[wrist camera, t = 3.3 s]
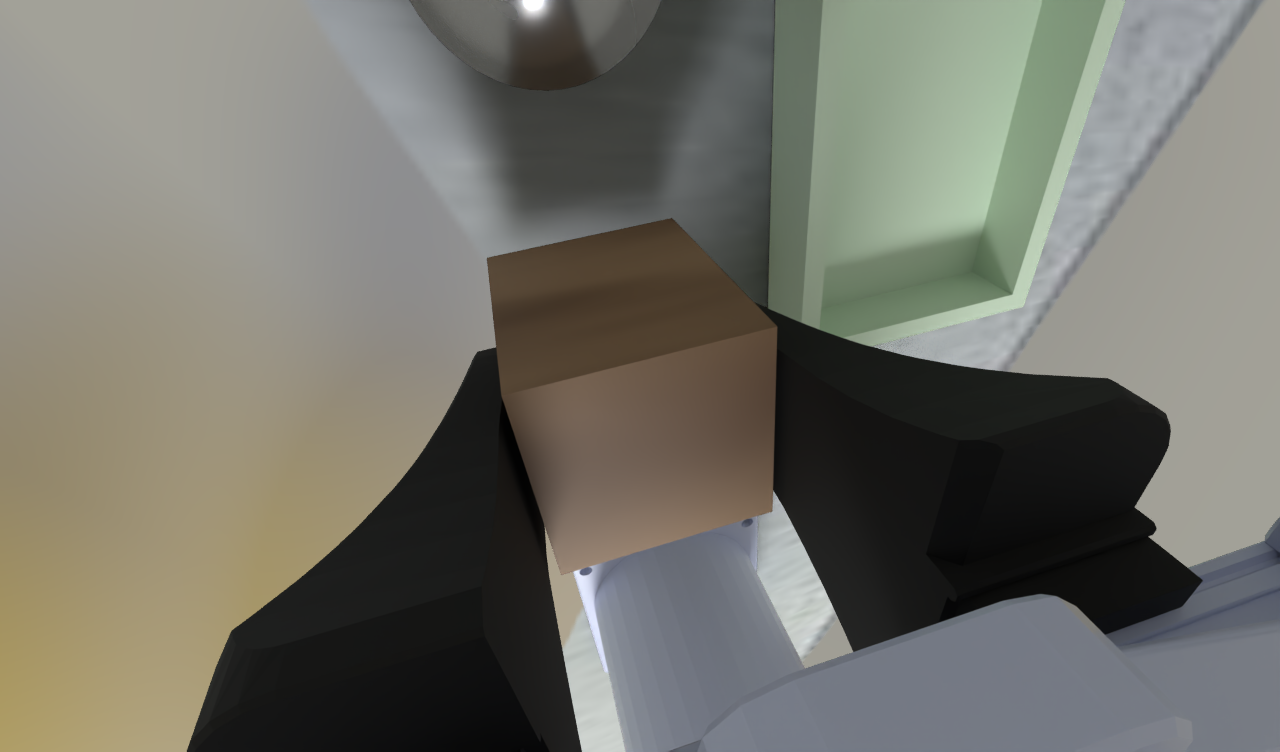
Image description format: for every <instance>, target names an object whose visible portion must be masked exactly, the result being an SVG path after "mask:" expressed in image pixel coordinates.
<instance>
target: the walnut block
mask: <svg viewBox="0 0 1280 752" xmlns="http://www.w3.org/2000/svg"><path fill="white" fill-rule="evenodd" d="M487 264H488V273H489V283H490V292H491V301H492V311H493V320H494V329H495V339H496V349H497V358H498V367H499V377H500V386H501V396H502V399H503V402H504V405H505V408H506V411H507V414H508V417H509V420H510V423H511V426H512V429H513V432H514V435H515V438H516V441H517V444H518V447H519V450H520V453H521V456H522V459H523V462H524V465H525V468H526V471H527V474H528V477H529V480H530V483H531V486H532V489H533V492H534V495H535V498H536V501H537V504H538V507H539V510H540V513H541V516H542V519H543V522H544V525H545V528H546V531H547V534H548V536H549V540H550V543H551V546H552V549H553V552H554V555H555V558H556V561H557V564H558V567H559V570H560V573H561V575H564V574H567V573H570V572H574V571H577V570H580V569H583V568H587V567H590V566H593V565H597V564H600V563H603V562H607V561H610V560H613V559H617V558H620V557H623V556H626V555H630V554H633V553H636V552H640V551H643V550H646V549H650V548H653V547H656V546H660V545H663V544H666V543H669V542H673V541H676V540H679V539H683V538H686V537H689V536H693V535H696V534H699V533H703V532H706V531H709V530H712V529H716V528H719V527H722V526H726V525H729V524H732V523H736V522H739V521H742V520H746V519H749V518H752V517H755V516H759V515H762V514H765V513H769V512H772V506H773V469H774V431H775V394H776V356H777V326H776V325H775V324H774V323H773V322H772V321H771V320H770V319H769V317H768V316H767V315H766V314H765V313H764V312H763V311H762V310H761V309H760V308H759V307H758V306H757V305H756V304H755V303H754V302H753V301H752V300H751V299H750V298H749V297H748V296H747V295H746V294H745V293H744V292H743V291H742V290H741V289H740V288H739V287H738V286H737V285H736V284H735V282H734V281H733V280H732V279H731V278H730V277H729V276H728V275H727V274H726V273H725V272H724V271H723V270H722V269H721V268H720V267H719V266H718V265H717V264H716V263H715V262H714V261H713V260H712V259H711V258H710V257H709V256H708V255H707V254H706V253H705V252H704V251H703V250H702V248H701V247H700V246H699V245H698V244H697V243H696V242H695V241H694V240H693V239H692V238H691V237H690V236H689V235H688V234H687V233H686V232H685V231H684V230H683V229H682V228H681V227H680V226H679V225H678V224H677V223H676V222H675V221H674V220H673V219H672V218H670V219H665V220H661V221H656V222H651V223H647V224H642V225H638V226H633V227H628V228H624V229H619V230H614V231H610V232H605V233H600V234H596V235H591V236H586V237H582V238H577V239H572V240H568V241H563V242H558V243H554V244H549V245H545V246H540V247H535V248H531V249H526V250H521V251H517V252H512V253H507V254H503V255H498V256H493V257H489V258H487Z"/></svg>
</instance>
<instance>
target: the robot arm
mask: <svg viewBox="0 0 1280 752" xmlns="http://www.w3.org/2000/svg"><path fill="white" fill-rule="evenodd" d="M755 304H756V305H757V306H758V307H759V308H760V309H761V310H762V311H763V312H764V313H765V314H766V315H767V316H768V317H769V319H770V320H771V321H772V322H773V323H774V324H775V325H776V326H777V356H776V394H775V431H774V469H773V490H774V492H775V494H776V495H777V497H778V499H779V500H780V502H781V504H782V505H783V507H784V509H785V511H786V513H787V515H788V516H789V518H790V520H791V522H792V524H793V526H794V528H795V530H796V532H797V534H798V536H799V538H800V540H801V542H802V544H803V545H804V547H805V550H806V552H807V554H808V556H809V558H810V560H811V562H812V564H813V566H814V568H815V570H816V572H817V574H818V576H819V578H820V580H821V582H822V584H823V586H824V588H825V590H826V593H827V595H828V597H829V599H830V601H831V603H832V606H833V608H834V610H835V612H836V614H837V616H838V619H839V621H840V623H841V625H842V627H843V629H844V631H845V634H846V636H847V638H848V640H849V643H850V645H851V647H852V650H853V653H849V654H846V655H844V656H841V657H838V658H835V659H832V660H829V661H826V662H823V663H820V664H817V665H814V666H812V667H809V668H806V669H805V667H804V665H803V663H802V661H801V659H800V657H799V655H798V653H797V651H796V649H795V647H794V645H793V643H792V641H791V639H790V637H789V636H788V634H787V632H786V630H785V628H784V626H783V624H782V622H781V620H780V618H779V616H778V614H777V612H776V610H775V608H774V606H773V604H772V602H771V600H770V598H769V596H768V594H767V592H766V590H765V588H764V586H763V584H762V582H761V580H760V578H759V576H758V574H757V537H758V516H755V517H752V518H749V519H746V520H742V521H739V522H736V523H732V524H729V525H726V526H722V527H719V528H716V529H712V530H709V531H706V532H703V533H699V534H696V535H693V536H689V537H686V538H683V539H679V540H676V541H673V542H669V543H666V544H663V545H660V546H656V547H653V548H650V549H646V550H643V551H640V552H636V553H633V554H630V555H626V556H623V557H620V558H617V559H613V560H610V561H607V562H603V563H600V564H597V565H593V566H590V567H587V568H583V569H580V570H577V571H574V572H573V573H574V577H575V580H576V583H577V586H578V590H579V593H580V596H581V599H582V602H583V606H584V609H585V612H586V615H587V618H588V622H589V625H590V628H591V631H592V634H593V638H594V641H595V644H596V647H597V650H598V654H599V657H600V660H601V663H602V666H603V670H604V671H605V672H606V673H609V677H610V682H611V687H612V691H613V696H614V700H615V705H616V710H617V714H618V719H619V723H620V728H621V732H622V737H623V742H624V746H625V751H626V752H1280V518H1279V519H1278V520H1277V521H1276V522H1275V523H1274V524H1273V525H1272V527H1271V528H1270V530H1269V531H1268V532H1267V534H1266V535H1265V541H1263V542H1260V543H1257V544H1254V545H1251V546H1249V547H1246V548H1243V549H1240V550H1237V551H1234V552H1231V553H1229V554H1226V555H1223V556H1220V557H1217V558H1214V559H1211V560H1209V561H1206V562H1203V563H1200V564H1197V565H1194V566H1192V567H1189V568H1187V567H1186V566H1184V565H1183V564H1182V563H1181V562H1179V561H1178V560H1177V559H1176V558H1174V557H1173V556H1172V555H1170V554H1169V553H1168V552H1167V551H1166V550H1164V549H1163V548H1162V547H1161V546H1159V545H1158V544H1157V543H1155V542H1154V541H1153V540H1152V539H1150V538H1149V537H1148V536H1150V535H1153V534H1154V532H1155V531H1156V526H1155V523H1154V522H1153V521H1152V520H1150V519H1149V518H1148V517H1146V516H1145V515H1144V514H1142V513H1141V512H1140V511H1139V510H1137V509H1136V508H1135V505H1136V504H1137V502H1138V500H1139V499H1140V497H1141V495H1142V493H1143V492H1144V490H1145V489H1146V486H1147V485H1148V483H1149V482H1150V480H1151V478H1152V477H1153V475H1154V473H1155V472H1156V470H1157V468H1158V467H1159V465H1160V463H1161V461H1162V459H1163V457H1164V455H1165V453H1166V451H1167V449H1168V446H1169V439H1170V432H1171V430H1170V424H1169V421H1168V418H1167V415H1166V414H1165V413H1164V412H1163V411H1161V410H1160V409H1158V408H1157V407H1155V406H1153V405H1152V404H1150V403H1149V402H1147V401H1146V400H1144V399H1142V398H1141V397H1139V396H1137V395H1136V394H1134V393H1132V392H1131V391H1129V390H1128V389H1126V388H1124V387H1123V386H1121V385H1119V384H1118V383H1116V382H1114V381H1112V380H1110V379H1108V378H1090V377H1071V376H1052V375H1033V374H1022V373H1012V372H1004V371H995V370H985V369H978V368H971V367H964V366H957V365H951V364H946V363H941V362H935V361H930V360H924V359H919V358H914V357H910V356H905V355H901V354H897V353H893V352H889V351H886V350H882V349H878V348H874V347H871V346H867V345H863V344H860V343H857V342H854V341H850V340H847V339H845V338H842V337H839V336H836V335H833V334H830V333H827V332H825V331H822V330H819V329H817V328H814V327H811V326H809V325H806V324H804V323H801V322H799V321H796V320H794V319H792V318H789V317H787V316H784V315H782V314H780V313H777V312H775V311H773V310H771V309H768V308H766V307H764V306H761V305H759V304H757V303H755ZM187 752H582V750H581V745H580V740H579V735H578V730H577V725H576V719H575V714H574V709H573V704H572V699H571V693H570V688H569V683H568V678H567V673H566V667H565V662H564V656H563V651H562V646H561V640H560V635H559V629H558V624H557V618H556V613H555V607H554V601H553V596H552V591H551V585H550V579H549V572H548V563H547V555H546V540H545V526H544V522H543V519H542V516H541V513H540V510H539V507H538V504H537V501H536V498H535V495H534V492H533V489H532V486H531V483H530V480H529V477H528V474H527V471H526V468H525V465H524V462H523V459H522V456H521V453H520V450H519V447H518V444H517V441H516V438H515V435H514V432H513V429H512V426H511V423H510V420H509V417H508V414H507V411H506V408H505V405H504V402H503V399H502V396H501V386H500V377H499V367H498V358H497V349H496V348H492V349H487V350H483V351H479V352H477V353H476V355H475V356H474V358H473V360H472V363H471V365H470V367H469V369H468V372H467V374H466V376H465V378H464V380H463V382H462V384H461V386H460V388H459V390H458V392H457V394H456V396H455V398H454V400H453V402H452V404H451V405H450V407H449V409H448V411H447V413H446V415H445V416H444V418H443V420H442V422H441V423H440V425H439V426H438V428H437V430H436V431H435V433H434V434H433V436H432V437H431V439H430V441H429V442H428V444H427V445H426V447H425V449H424V450H423V451H422V453H421V454H420V456H419V457H418V459H417V460H416V461H415V463H414V464H413V465H412V467H411V468H410V469H409V470H408V472H407V473H406V474H405V476H404V477H403V478H402V479H401V480H400V482H399V483H398V484H397V485H396V486H395V488H394V489H393V490H392V491H391V492H390V493H389V494H388V495H387V496H386V497H385V498H384V499H383V500H382V502H381V503H380V504H379V505H378V506H377V507H376V508H375V509H374V510H373V511H372V513H370V514H369V515H368V516H367V518H366V519H365V520H364V521H363V522H362V523H361V524H360V525H359V526H358V527H357V528H356V529H355V530H354V531H353V532H352V533H351V534H349V535H348V536H347V537H346V538H345V539H344V540H343V541H342V542H341V543H340V544H339V545H338V546H337V547H336V548H335V549H333V550H332V551H331V552H330V553H329V554H328V555H327V556H325V557H324V558H323V559H322V560H321V561H320V562H319V563H318V564H316V565H315V566H314V567H313V568H312V569H311V570H309V571H308V572H307V573H306V574H305V575H304V576H302V577H301V578H300V579H299V580H297V581H296V582H295V583H294V584H292V585H291V586H290V587H288V588H287V589H286V590H284V591H283V592H282V593H281V594H279V595H278V596H277V597H275V598H274V599H273V600H272V601H270V602H269V603H268V604H266V605H265V606H264V607H263V608H261V609H260V610H259V611H257V612H256V613H255V614H253V615H252V616H251V617H250V618H248V619H247V620H246V621H244V622H243V623H242V624H240V625H239V626H237V627H236V628H235V629H233V630H232V631H231V633H230V636H229V638H228V640H227V643H226V645H225V647H224V650H223V652H222V654H221V657H220V659H219V661H218V664H217V666H216V669H215V672H214V674H213V677H212V681H211V683H210V686H209V689H208V692H207V695H206V697H205V700H204V703H203V706H202V709H201V712H200V715H199V718H198V721H197V723H196V726H195V729H194V732H193V735H192V738H191V741H190V744H189V746H188V749H187Z"/></svg>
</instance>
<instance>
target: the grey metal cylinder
mask: <svg viewBox="0 0 1280 752" xmlns="http://www.w3.org/2000/svg"><path fill="white" fill-rule="evenodd" d="M410 2H411V3H412V5H413V7H414V8H415V10H416V12H417V13H418V15H419V16H420V17H421V19H422V20H423V21H424V23H425V24H426V25H427V26H428V28H429V29H430V30H431V32H432V33H433V34H434V35H435V36H436V37H437V38H438V39H439V40H440V41H441V42H442V43H443V44H444V45H445V47H446V48H447V49H449V50H450V51H451V52H452V53H453V54H455V55H456V56H457V57H458V58H459V59H461V60H462V61H463V62H464V63H466V64H468V65H469V66H471V67H472V68H474V69H475V70H477V71H478V72H480V73H482V74H484V75H486V76H488V77H490V78H492V79H494V80H496V81H499V82H502V83H505V84H508V85H511V86H514V87H519V88H524V89H529V90H546V91H549V90H559V89H566V88H570V87H574V86H578V85H581V84H584V83H586V82H588V81H591V80H593V79H596V78H597V77H599V76H601V75H602V74H604V73H606V72H607V71H609V70H610V69H612V68H613V67H614V66H615V65H617V64H618V63H619V62H620V61H622V60H623V59H624V58H625V57H626V56H627V55H628V54H629V53H630V51H631V50H632V49H633V48H634V47H635V46H636V45H637V43H638V42H639V41H640V39H641V38H642V37H643V35H644V34H645V32H646V31H647V29H648V27H649V26H650V24H651V22H652V20H653V18H654V17H655V15H656V12H657V10H658V8H659V5H660V3H661V0H410Z"/></svg>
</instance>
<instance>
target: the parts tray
mask: <svg viewBox="0 0 1280 752" xmlns="http://www.w3.org/2000/svg"><path fill="white" fill-rule="evenodd" d="M1125 1H1126V0H775V41H774V82H773V123H772V164H771V205H770V246H769V287H768V309H771V310H773V311H775V312H777V313H780V314H782V315H784V316H787V317H789V318H792V319H794V320H796V321H799V322H801V323H804V324H806V325H809V326H811V327H814V328H817V329H819V330H822V331H825V332H827V333H830V334H833V335H836V336H839V337H842V338H845V339H847V340H850V341H854V342H857V343H860V344H863V345H867V346H875V345H878V344H882V343H886V342H890V341H894V340H898V339H901V338H905V337H909V336H913V335H917V334H921V333H925V332H928V331H932V330H936V329H940V328H944V327H948V326H951V325H955V324H959V323H963V322H967V321H971V320H974V319H978V318H982V317H986V316H990V315H994V314H998V313H1001V312H1005V311H1009V310H1013V309H1017V308H1021V307H1023V306H1024V303H1025V300H1026V297H1027V294H1028V291H1029V288H1030V285H1031V282H1032V279H1033V277H1034V274H1035V271H1036V268H1037V265H1038V262H1039V259H1040V256H1041V253H1042V250H1043V247H1044V244H1045V241H1046V238H1047V235H1048V232H1049V229H1050V226H1051V223H1052V220H1053V217H1054V214H1055V211H1056V208H1057V205H1058V202H1059V199H1060V196H1061V193H1062V190H1063V187H1064V184H1065V181H1066V178H1067V175H1068V172H1069V169H1070V166H1071V163H1072V160H1073V157H1074V154H1075V151H1076V148H1077V145H1078V142H1079V139H1080V136H1081V133H1082V130H1083V127H1084V124H1085V121H1086V118H1087V115H1088V112H1089V109H1090V106H1091V103H1092V100H1093V97H1094V94H1095V91H1096V88H1097V85H1098V82H1099V79H1100V76H1101V73H1102V70H1103V67H1104V64H1105V61H1106V58H1107V55H1108V52H1109V49H1110V46H1111V43H1112V40H1113V37H1114V34H1115V31H1116V28H1117V25H1118V22H1119V19H1120V16H1121V13H1122V10H1123V7H1124V4H1125Z"/></svg>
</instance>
